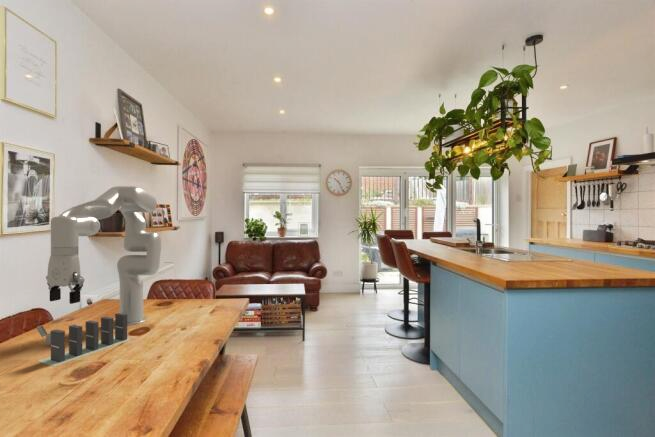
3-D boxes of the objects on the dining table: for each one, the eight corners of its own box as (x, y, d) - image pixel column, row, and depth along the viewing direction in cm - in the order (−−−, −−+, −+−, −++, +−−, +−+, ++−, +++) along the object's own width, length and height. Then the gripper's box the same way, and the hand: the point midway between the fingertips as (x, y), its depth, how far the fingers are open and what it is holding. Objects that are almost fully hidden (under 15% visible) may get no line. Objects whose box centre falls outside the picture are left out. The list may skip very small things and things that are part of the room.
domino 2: (77, 356, 115) (77, 327, 115) (68, 354, 117) (68, 326, 117) (82, 354, 117) (82, 326, 117) (73, 352, 119) (74, 324, 119)
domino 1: (59, 362, 110) (59, 332, 110) (50, 360, 112) (50, 330, 112) (65, 360, 112) (65, 331, 112) (56, 358, 114) (56, 329, 114)
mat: (37, 362, 112) (37, 360, 112) (116, 336, 136) (116, 335, 136) (54, 367, 108) (54, 366, 108) (132, 340, 132) (132, 338, 132)
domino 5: (123, 340, 130) (123, 315, 130) (114, 338, 132) (115, 313, 132) (127, 339, 132) (127, 314, 132) (119, 337, 134) (119, 312, 134)
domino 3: (93, 350, 120) (93, 323, 120) (85, 348, 122) (85, 321, 122) (98, 349, 122) (98, 322, 122) (90, 347, 124) (90, 320, 124)
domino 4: (109, 345, 125) (109, 319, 125) (100, 343, 127) (100, 317, 127) (113, 344, 127) (113, 318, 127) (105, 342, 129) (105, 316, 129)
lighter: (60, 343, 129) (60, 322, 129) (59, 344, 127) (59, 324, 127) (37, 346, 126) (37, 325, 126) (35, 347, 124) (36, 326, 124)
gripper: (35, 252, 113) (35, 302, 113) (71, 254, 108) (71, 306, 108) (59, 250, 120) (59, 297, 120) (93, 251, 115) (93, 301, 115)
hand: (64, 301), depth 114 cm, fingers open, 9 cm apart
